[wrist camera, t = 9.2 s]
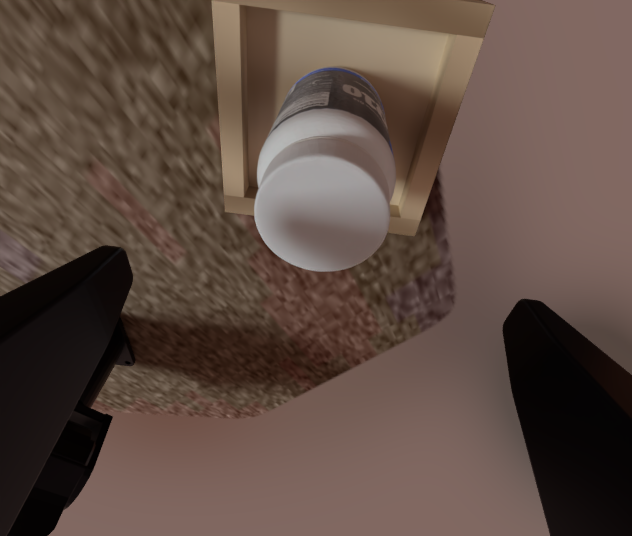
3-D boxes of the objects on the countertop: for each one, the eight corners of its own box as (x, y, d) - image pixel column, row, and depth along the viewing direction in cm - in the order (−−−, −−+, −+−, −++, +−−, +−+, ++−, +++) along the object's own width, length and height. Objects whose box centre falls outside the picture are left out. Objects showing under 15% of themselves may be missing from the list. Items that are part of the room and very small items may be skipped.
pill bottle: (401, 139, 17) (430, 248, 11) (316, 184, 19) (299, 300, 13) (353, 38, 15) (356, 105, 8) (260, 101, 17) (205, 195, 10)
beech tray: (408, 208, 21) (414, 236, 19) (237, 186, 21) (225, 211, 19) (475, -3, 15) (495, 5, 13) (228, -38, 15) (209, -35, 13)
